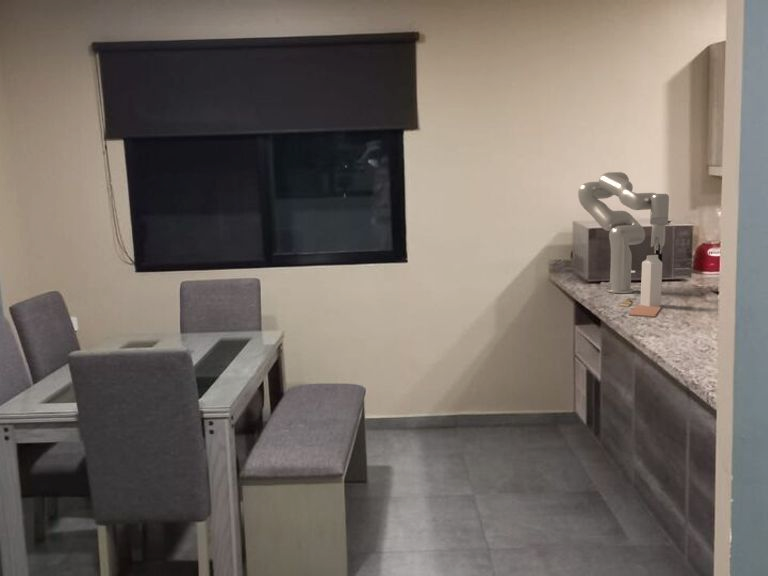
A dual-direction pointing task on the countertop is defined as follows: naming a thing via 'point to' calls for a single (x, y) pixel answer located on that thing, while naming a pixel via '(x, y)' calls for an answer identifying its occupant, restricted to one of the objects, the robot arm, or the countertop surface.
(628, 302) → the turner
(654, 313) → the mat
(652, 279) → the milk
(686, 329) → the countertop surface
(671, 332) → the countertop surface
